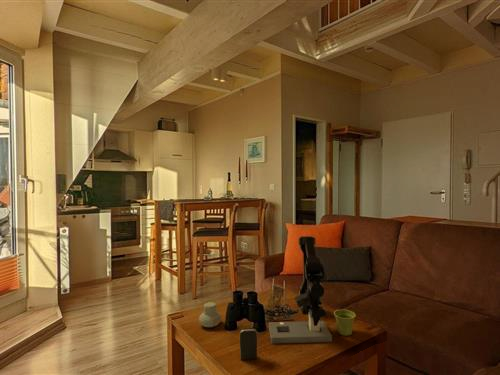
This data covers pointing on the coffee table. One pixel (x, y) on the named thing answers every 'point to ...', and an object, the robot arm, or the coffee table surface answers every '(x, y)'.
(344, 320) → the plant pot
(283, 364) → the coffee table surface
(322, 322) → the panel board
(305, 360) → the coffee table surface
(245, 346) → the battery charger
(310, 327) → the plug
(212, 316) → the air freshener
